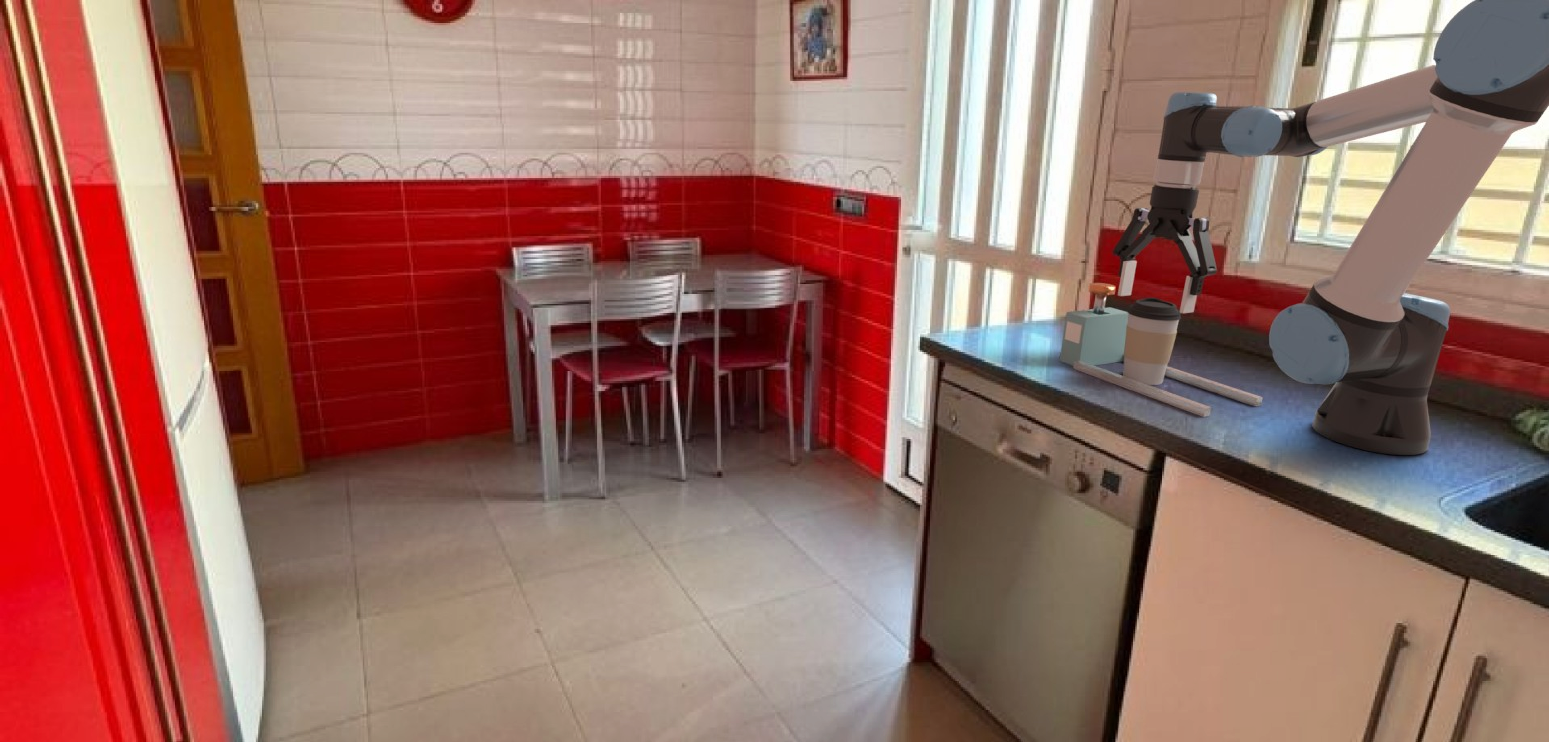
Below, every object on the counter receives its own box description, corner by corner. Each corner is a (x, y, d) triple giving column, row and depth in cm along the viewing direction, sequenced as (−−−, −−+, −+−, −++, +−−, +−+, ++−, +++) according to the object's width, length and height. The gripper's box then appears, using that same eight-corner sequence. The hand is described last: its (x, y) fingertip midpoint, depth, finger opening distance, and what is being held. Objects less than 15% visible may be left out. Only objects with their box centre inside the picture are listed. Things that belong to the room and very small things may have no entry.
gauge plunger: (1116, 319, 165) (1121, 287, 163) (1098, 321, 162) (1103, 288, 160) (1096, 313, 169) (1101, 282, 167) (1079, 315, 166) (1084, 283, 165)
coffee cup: (1174, 389, 153) (1189, 308, 148) (1121, 384, 154) (1134, 304, 150) (1162, 374, 161) (1176, 297, 157) (1112, 370, 163) (1125, 294, 158)
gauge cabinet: (1122, 361, 169) (1130, 312, 166) (1077, 367, 163) (1085, 317, 160) (1102, 354, 173) (1110, 307, 170) (1058, 360, 168) (1065, 312, 165)
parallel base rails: (1260, 405, 145) (1262, 397, 145) (1203, 417, 139) (1205, 408, 138) (1127, 360, 169) (1128, 353, 169) (1073, 368, 163) (1074, 361, 162)
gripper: (1256, 193, 138) (1229, 318, 145) (1133, 177, 159) (1114, 287, 166) (1227, 194, 135) (1200, 322, 141) (1104, 178, 156) (1087, 290, 162)
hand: (1154, 303), depth 154 cm, fingers open, 13 cm apart
